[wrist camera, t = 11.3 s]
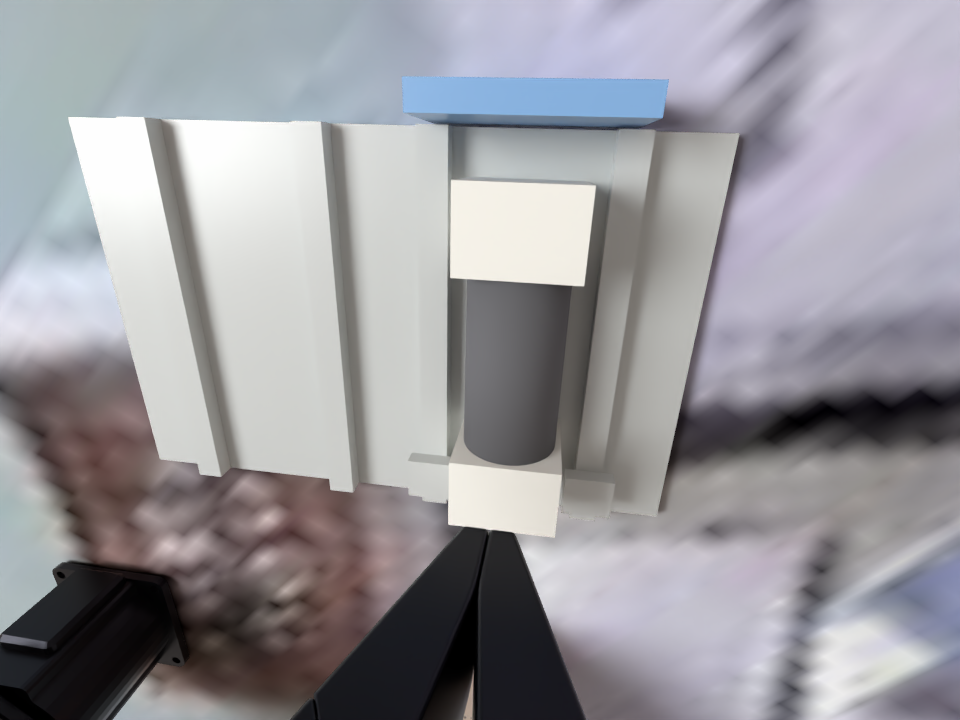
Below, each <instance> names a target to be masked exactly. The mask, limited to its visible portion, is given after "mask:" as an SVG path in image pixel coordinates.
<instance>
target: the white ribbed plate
mask: <svg viewBox="0 0 960 720" xmlns="http://www.w3.org/2000/svg"><path fill="white" fill-rule="evenodd" d="M668 82H669V80H656V79H573V78H490V77H406V76H402V91H403V113H406V114H408V115H411V116H414V117H417V118H420V119H423V120H425V121H428V122H431V123H437V124H415V126H413V125H372V124H331V123H325V122H315V121H290V122H249V121H208V120H166V119H153V118H145V117H116V118H84V117H68V119H69V123H70V126H71V130H72V134H73V138H74V141H75V145H76V149H77V152H78V156H79V160H80V164H81V167H82V171H83V175H84V178H85V182H86V186H87V190H88V193H89V197H90V201H91V204H92V208H93V212H94V216H95V219H96V223H97V227H98V230H99V234H100V238H101V242H102V245H103V249H104V253H105V256H106V260H107V264H108V268H109V271H110V275H111V279H112V282H113V286H114V290H115V294H116V297H117V301H118V305H119V308H120V312H121V316H122V320H123V323H124V327H125V331H126V334H127V338H128V342H129V346H130V349H131V353H132V357H133V360H134V364H135V368H136V372H137V375H138V379H139V383H140V386H141V390H142V394H143V398H144V401H145V405H146V409H147V412H148V416H149V420H150V424H151V427H152V431H153V435H154V438H155V442H156V446H157V450H158V453H159V457H160V459H162V460H171V461H180V462H188V463H197V464H198V468H199V472H200V474H202V475H210V476H218V477H222V476H223V475H224V474H225V473H226V472H227V471H228V470H229V469H230V468H240V469H249V470H257V471H266V472H275V473H283V474H292V475H300V476H309V477H318V478H326V479H329V480H330V490H336V491H345V492H354V490H355V489H356V487H357V485H358V484H359V482H361V483H370V484H378V485H387V486H395V487H404V488H409V495H413V496H421V497H423V501H429V502H438V503H447V500H448V499H449V461H450V458H451V455H452V452H453V449H454V446H455V443H456V441H457V438H458V435H459V432H460V429H461V426H462V423H463V420H464V403H465V356H466V309H467V279H458V278H450V233H451V180H455V179H462V178H469V177H489V178H515V179H542V180H568V181H587V182H589V183H591V184H594V185H596V190H595V199H594V207H593V216H592V224H591V233H590V241H589V250H588V258H587V267H586V275H585V284H584V286H572V292H571V301H570V311H569V320H568V329H567V339H566V348H565V357H564V366H563V376H562V385H561V394H560V404H559V413H558V419H560V429H561V460H562V480H561V488H560V497H559V505H560V506H561V513H566V514H569V518H573V519H581V520H590V521H595V517H600V518H608V519H609V517H610V511H611V512H620V513H629V514H637V515H646V516H655V517H657V512H658V507H659V503H660V498H661V494H662V489H663V484H664V480H665V475H666V471H667V466H668V461H669V457H670V452H671V448H672V443H673V438H674V434H675V429H676V424H677V420H678V415H679V411H680V406H681V401H682V397H683V392H684V388H685V383H686V378H687V374H688V369H689V365H690V360H691V355H692V351H693V346H694V342H695V337H696V332H697V328H698V323H699V318H700V314H701V309H702V305H703V300H704V295H705V291H706V286H707V282H708V277H709V272H710V268H711V263H712V259H713V254H714V249H715V245H716V240H717V235H718V231H719V226H720V222H721V217H722V212H723V208H724V203H725V199H726V194H727V189H728V185H729V180H730V176H731V171H732V166H733V162H734V157H735V153H736V148H737V143H738V139H739V134H740V133H701V132H660V131H656V130H649V129H618V130H578V129H537V128H496V127H454V126H450V125H440V124H480V125H522V126H564V127H607V128H641V127H643V126H645V125H648V124H650V123H652V122H655V121H657V120H659V119H662V118H663V114H664V107H665V101H666V95H667V88H668Z"/></svg>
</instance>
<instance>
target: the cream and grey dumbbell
mask: <svg viewBox="0 0 960 720" xmlns="http://www.w3.org/2000/svg"><path fill="white" fill-rule="evenodd" d="M595 190H596V185H594V184H591V183H589V182H587V181H568V180H542V179H515V178H489V177H469V178H462V179H455V180H451V233H450V278H458V279H467V309H466V356H465V403H464V420H463V423H462V426H461V429H460V432H459V435H458V438H457V441H456V443H455V446H454V449H453V452H452V455H451V458H450V461H449V499H448V524H449V525H457V526H465V527H467V526H468V527H476V528H484V529H489V530H499V531H507V532H513V533H521V534H529V535H537V536H545V537H553V538H555V531H556V522H557V514H558V505H559V497H560V488H561V480H562V460H561V429H560V419H558V413H559V404H560V394H561V385H562V376H563V366H564V357H565V348H566V339H567V329H568V320H569V311H570V301H571V292H572V286H584V284H585V275H586V267H587V258H588V250H589V241H590V233H591V224H592V216H593V207H594V199H595Z"/></svg>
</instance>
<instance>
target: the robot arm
mask: <svg viewBox="0 0 960 720" xmlns="http://www.w3.org/2000/svg"><path fill="white" fill-rule="evenodd" d="M52 572H53V575H54V578H55V580H56V582H57V585H58V586H57V587H55V588H54V589H53V590H52V591H51V592H49V593H48V594H47V595H46V596H45V597H44V598H42V599H41V600H40V601H39V602H38V603H37V604H35V605H34V606H33V607H32V608H31V609H29V610H28V611H27V612H26V613H25V614H24V615H22V616H21V617H20V618H19V619H18V620H17V621H15V622H14V623H13V624H12V625H11V626H9V627H8V628H7V629H6V630H5V631H4V632H3V633H2V634H1V635H0V720H113V718H114V717H115V716H116V715H117V713H118V712H119V711H120V710H121V708H122V707H123V706H124V705H125V703H126V702H127V701H128V699H129V698H130V697H131V696H132V694H133V693H134V692H135V691H136V689H137V688H138V687H139V686H140V684H141V683H142V682H143V681H144V679H145V678H146V677H147V675H148V674H149V673H150V672H151V670H152V669H153V668H154V667H155V665H156V664H157V663H162V664H168V665H173V666H183V665H184V664H185V662H186V661H187V660H188V658H189V653H188V649H187V646H186V643H185V639H184V636H183V632H182V629H181V626H180V622H179V619H178V616H177V612H176V609H175V606H174V602H173V599H172V595H171V592H170V589H169V585H168V583H167V581H166V580H165V579H163V578H162V577H159V576H154V575H147V574H140V573H134V572H127V571H120V570H113V569H107V568H100V567H93V566H86V565H79V564H73V563H66V562H62V563H61V564H59V565H58V566H57V567H56V568H54V569H53V571H52ZM473 672H474V677H473ZM472 678H473V707H472V720H586V718H585V715H584V712H583V710H582V707H581V704H580V702H579V699H578V697H577V694H576V691H575V689H574V686H573V684H572V681H571V678H570V676H569V673H568V671H567V668H566V665H565V663H564V660H563V657H562V655H561V652H560V650H559V647H558V644H557V642H556V639H555V637H554V634H553V631H552V629H551V626H550V624H549V621H548V618H547V616H546V613H545V611H544V608H543V605H542V603H541V600H540V597H539V595H538V592H537V590H536V587H535V584H534V582H533V579H532V577H531V574H530V571H529V569H528V566H527V564H526V561H525V558H524V556H523V553H522V551H521V548H520V545H519V543H518V540H517V538H516V536H515V534H514V533H513V532H507V531H499V530H491V531H490V532H489V533H488V531H487V530H486V529H484V528H476V527H468V526H467V527H463V528H462V529H461V530H460V531H459V532H458V533H457V534H456V536H455V537H454V538H453V539H452V540H451V541H450V542H449V543H448V545H447V546H446V547H445V548H444V549H443V550H442V551H441V552H440V553H439V555H438V556H437V557H436V558H435V559H434V560H433V561H432V562H431V563H430V565H429V566H428V567H427V568H426V569H425V570H424V571H423V572H422V574H421V575H420V576H419V577H418V578H417V579H416V580H415V581H414V582H413V584H412V585H411V586H410V587H409V588H408V589H407V590H406V591H405V592H404V594H403V595H402V596H401V597H400V598H399V599H398V600H397V601H396V603H395V604H394V605H393V606H392V607H391V608H390V609H389V610H388V611H387V613H386V614H385V615H384V616H383V617H382V618H381V619H380V620H379V621H378V623H377V624H376V625H375V626H374V627H373V628H372V629H371V630H370V632H369V633H368V634H367V635H366V636H365V637H364V638H363V639H362V640H361V642H360V643H359V644H358V645H357V646H356V647H355V648H354V649H353V650H352V652H351V653H350V654H349V655H348V656H347V657H346V658H345V659H344V661H343V662H342V663H341V664H340V665H339V666H338V667H337V668H336V669H335V671H334V672H333V673H332V674H331V675H330V676H329V677H328V678H327V679H326V681H325V682H324V683H323V684H322V685H321V686H320V687H319V688H318V690H317V691H316V692H315V693H314V699H312V698H310V699H308V700H307V701H306V702H305V704H304V705H303V706H302V707H301V708H300V709H299V710H298V711H297V713H296V714H295V715H294V716H293V717H292V718H291V719H290V720H463V717H464V713H465V709H466V705H467V701H468V697H469V692H470V688H471V683H472Z"/></svg>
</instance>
